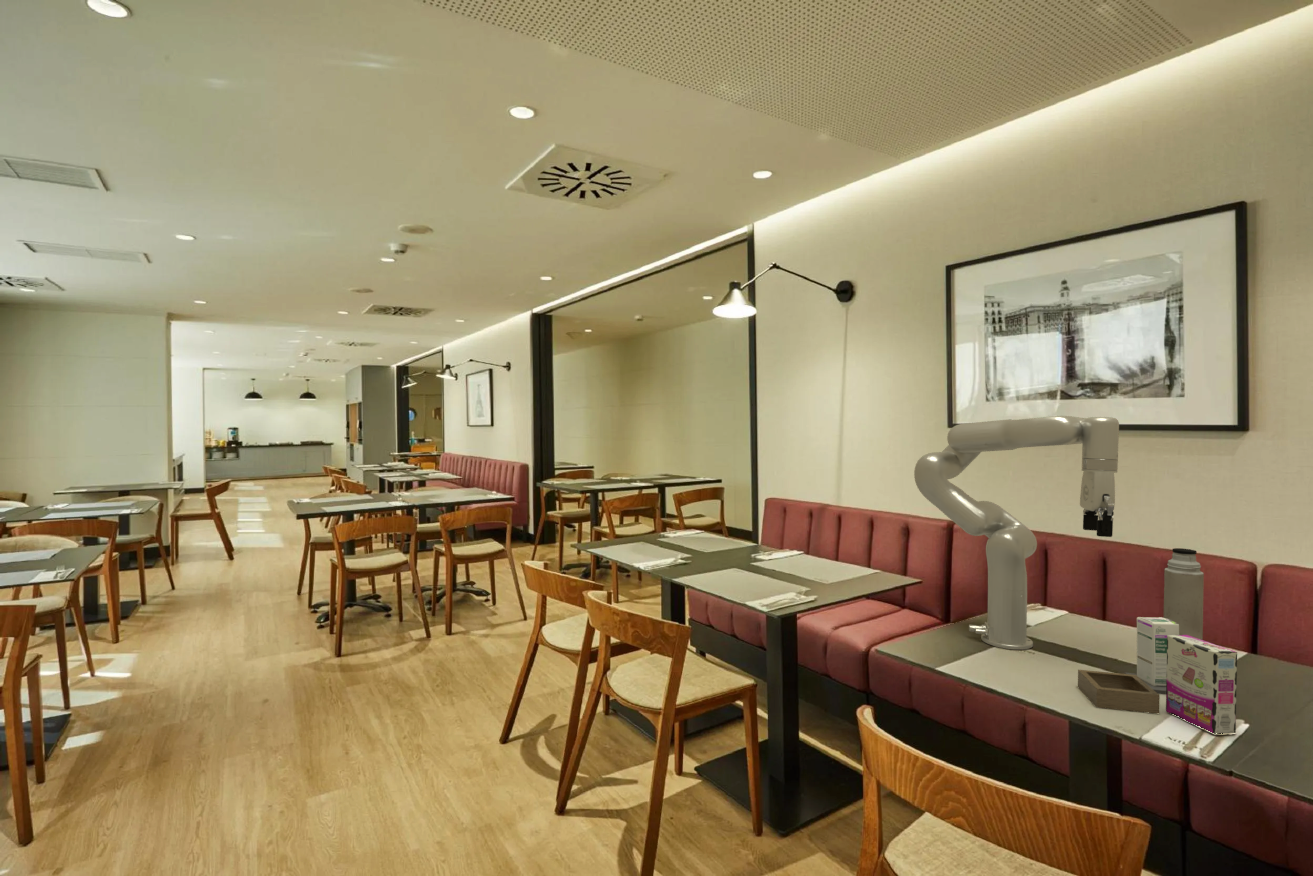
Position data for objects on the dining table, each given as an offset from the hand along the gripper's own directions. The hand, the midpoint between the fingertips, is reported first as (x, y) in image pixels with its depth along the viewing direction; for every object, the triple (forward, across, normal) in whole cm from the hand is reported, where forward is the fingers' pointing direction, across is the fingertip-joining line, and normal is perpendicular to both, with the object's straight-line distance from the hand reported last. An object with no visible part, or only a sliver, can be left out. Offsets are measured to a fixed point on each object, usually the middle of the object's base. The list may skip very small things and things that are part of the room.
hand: (1097, 533), depth 164 cm
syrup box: (+32, +13, +9) cm, 36 cm away
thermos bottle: (+33, -12, +24) cm, 43 cm away
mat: (+33, +13, +9) cm, 36 cm away
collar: (+33, +25, -3) cm, 41 cm away
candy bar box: (+33, +33, +8) cm, 47 cm away
